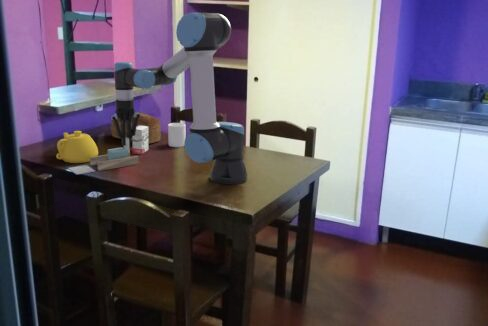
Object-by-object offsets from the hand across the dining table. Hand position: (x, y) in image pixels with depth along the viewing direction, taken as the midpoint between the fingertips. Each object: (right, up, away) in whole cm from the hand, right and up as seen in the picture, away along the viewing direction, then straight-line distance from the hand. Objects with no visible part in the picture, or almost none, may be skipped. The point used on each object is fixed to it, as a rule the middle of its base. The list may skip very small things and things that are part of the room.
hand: (126, 152), depth 217 cm
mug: (+19, +4, +33) cm, 38 cm away
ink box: (+2, 0, +19) cm, 19 cm away
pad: (-16, -8, -11) cm, 21 cm away
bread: (-5, +7, +40) cm, 41 cm away
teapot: (-25, -3, +5) cm, 25 cm away
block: (-3, -5, -1) cm, 6 cm away
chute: (-5, -5, -2) cm, 8 cm away
